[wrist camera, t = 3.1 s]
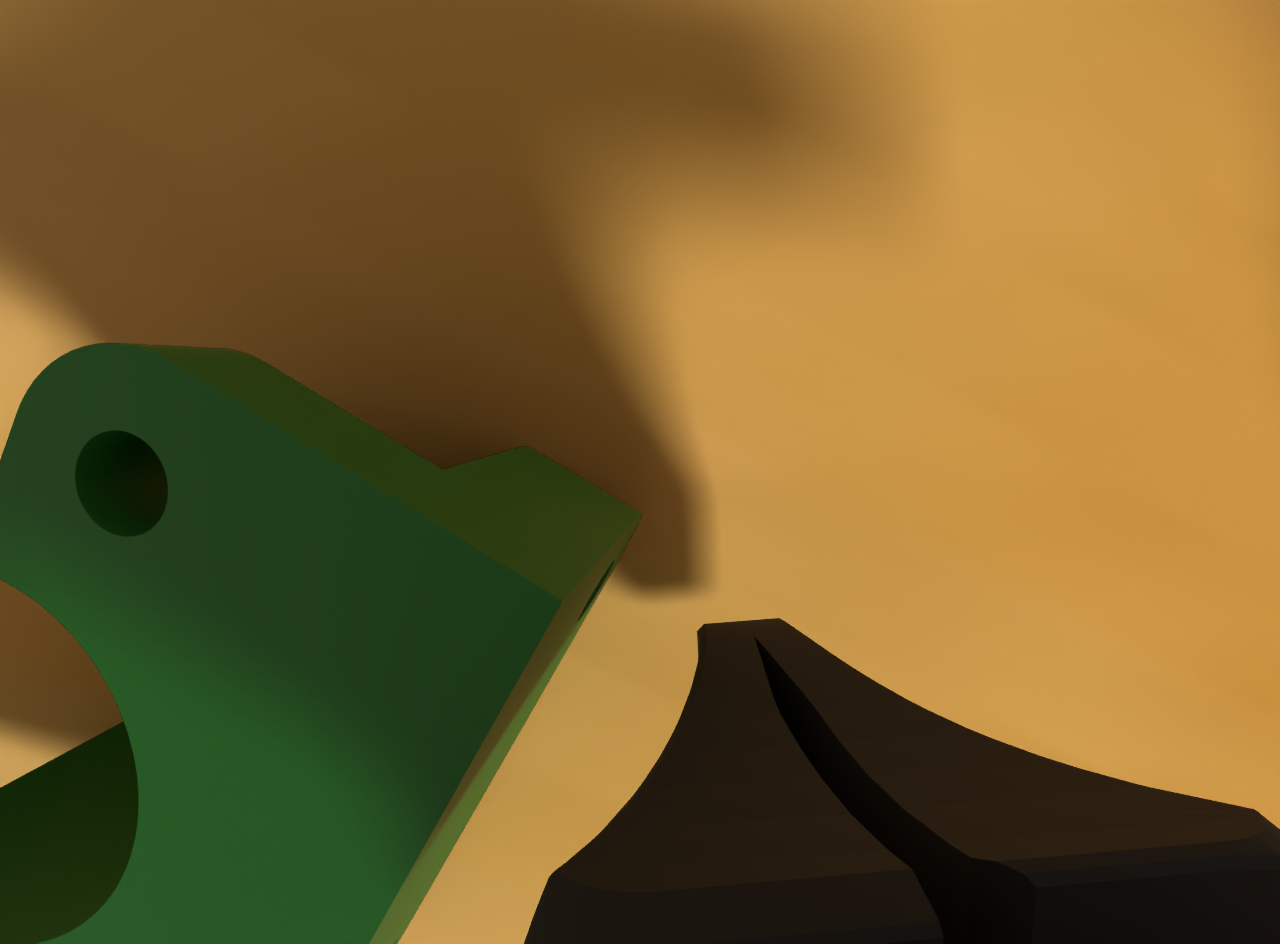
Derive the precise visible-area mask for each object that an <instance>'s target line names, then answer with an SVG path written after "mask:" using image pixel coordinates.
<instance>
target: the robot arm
mask: <svg viewBox="0 0 1280 944" xmlns="http://www.w3.org/2000/svg"><path fill="white" fill-rule="evenodd" d="M697 637H698V664H697V668H696V672H695V676H694V680H693V684H692V687H691V690H690V693H689V696H688V698H687V701H686V703H685V706H684V709H683V711H682V714H681V716H680V719H679V721H678V723H677V725H676V727H675V730H674V732H673V734H672V736H671V738H670V739H669V741H668V743H667V745H666V747H665V748H664V750H663V752H662V754H661V756H660V757H659V759H658V760H657V762H656V763H655V765H654V766H653V768H652V769H651V771H650V772H649V774H648V776H647V777H646V779H645V780H644V781H643V783H642V784H641V786H640V787H639V788H638V790H637V791H636V792H635V794H634V795H633V796H632V797H631V799H630V800H629V801H628V802H627V803H626V804H625V805H624V806H623V808H622V809H621V810H620V811H619V812H618V813H617V814H616V816H615V817H614V818H613V819H612V820H611V821H610V822H609V824H608V825H607V826H606V827H605V828H604V829H603V830H602V831H601V832H600V833H599V834H598V835H597V836H596V837H595V838H594V839H593V840H592V841H591V842H589V843H588V844H587V845H586V846H585V847H584V848H582V849H581V850H580V851H579V852H578V853H577V854H575V855H574V856H573V857H572V858H571V859H569V860H568V861H567V862H566V863H565V864H563V865H562V866H561V867H559V868H558V869H557V870H555V871H554V872H553V873H552V874H551V875H550V877H549V879H548V881H547V884H546V886H545V888H544V891H543V893H542V896H541V898H540V901H539V904H538V906H537V909H536V911H535V914H534V916H533V919H532V922H531V925H530V928H529V931H528V934H527V936H526V939H525V942H524V944H1280V829H1278V828H1277V827H1276V826H1275V825H1274V824H1272V823H1271V822H1270V821H1269V820H1267V819H1266V818H1265V817H1264V816H1262V815H1261V814H1260V813H1259V812H1257V811H1256V810H1254V809H1250V808H1245V807H1241V806H1236V805H1231V804H1226V803H1222V802H1217V801H1212V800H1207V799H1203V798H1198V797H1193V796H1188V795H1184V794H1179V793H1174V792H1169V791H1165V790H1160V789H1155V788H1151V787H1146V786H1142V785H1138V784H1134V783H1130V782H1127V781H1123V780H1119V779H1116V778H1112V777H1109V776H1105V775H1101V774H1098V773H1094V772H1091V771H1087V770H1083V769H1080V768H1076V767H1073V766H1070V765H1067V764H1064V763H1060V762H1057V761H1054V760H1051V759H1048V758H1045V757H1042V756H1039V755H1036V754H1033V753H1030V752H1028V751H1025V750H1022V749H1019V748H1017V747H1014V746H1011V745H1008V744H1006V743H1003V742H1000V741H997V740H995V739H992V738H990V737H987V736H985V735H982V734H980V733H977V732H975V731H972V730H970V729H968V728H965V727H963V726H961V725H959V724H957V723H955V722H952V721H950V720H948V719H946V718H944V717H942V716H939V715H937V714H935V713H933V712H931V711H929V710H926V709H924V708H922V707H921V706H919V705H917V704H915V703H913V702H911V701H909V700H907V699H905V698H903V697H902V696H900V695H898V694H896V693H895V692H893V691H891V690H889V689H887V688H886V687H884V686H882V685H880V684H879V683H877V682H875V681H874V680H872V679H870V678H869V677H867V676H865V675H864V674H862V673H860V672H859V671H857V670H856V669H854V668H853V667H851V666H849V665H848V664H846V663H845V662H843V661H842V660H840V659H839V658H837V657H836V656H834V655H833V654H831V653H830V652H828V651H827V650H825V649H824V648H823V647H821V646H820V645H818V644H817V643H815V642H814V641H813V640H811V639H810V638H808V637H807V636H805V635H804V634H803V633H801V632H800V631H798V630H797V629H795V628H794V627H792V626H791V625H789V624H788V623H786V622H785V621H783V620H781V619H780V618H775V619H763V620H750V621H737V622H724V623H712V624H704V625H703V626H702V627H701V628H700V629H699V630H698V631H697Z"/></svg>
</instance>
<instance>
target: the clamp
mask: <svg viewBox="0 0 1280 944" xmlns="http://www.w3.org/2000/svg"><path fill="white" fill-rule="evenodd" d="M641 516H642V513H640V512H638V511H637V510H635V509H633V508H632V507H630V506H628V505H627V504H625V503H623V502H622V501H620V500H618V499H616V498H615V497H613V496H611V495H610V494H608V493H606V492H605V491H603V490H601V489H600V488H598V487H596V486H595V485H593V484H591V483H590V482H588V481H586V480H584V479H583V478H581V477H579V476H578V475H576V474H574V473H573V472H571V471H569V470H568V469H566V468H564V467H563V466H561V465H559V464H558V463H556V462H554V461H553V460H551V459H549V458H547V457H546V456H544V455H542V454H541V453H539V452H537V451H536V450H534V449H532V448H531V447H529V446H523V447H519V448H516V449H513V450H509V451H506V452H502V453H499V454H495V455H492V456H488V457H485V458H482V459H478V460H475V461H471V462H468V463H464V464H461V465H457V466H454V467H451V468H447V469H444V470H443V469H441V468H439V467H438V466H436V465H434V464H433V463H431V462H429V461H428V460H426V459H424V458H423V457H421V456H419V455H418V454H416V453H414V452H413V451H411V450H409V449H408V448H406V447H405V446H403V445H401V444H400V443H398V442H396V441H395V440H393V439H391V438H390V437H388V436H386V435H385V434H383V433H381V432H380V431H378V430H376V429H375V428H373V427H371V426H370V425H368V424H366V423H365V422H363V421H362V420H360V419H358V418H357V417H355V416H353V415H352V414H350V413H348V412H347V411H345V410H343V409H342V408H340V407H338V406H337V405H335V404H333V403H332V402H330V401H328V400H327V399H325V398H324V397H322V396H320V395H319V394H317V393H315V392H314V391H312V390H310V389H309V388H307V387H305V386H304V385H302V384H300V383H299V382H297V381H295V380H294V379H292V378H290V377H289V376H287V375H285V374H284V373H282V372H281V371H279V370H277V369H276V368H274V367H272V366H271V365H269V364H267V363H266V362H264V361H262V360H260V359H258V358H256V357H254V356H251V355H249V354H246V353H243V352H239V351H236V350H230V349H222V348H203V347H184V346H164V345H145V344H126V343H99V344H92V345H88V346H83V347H80V348H78V349H75V350H72V351H70V352H68V353H66V354H64V355H62V356H61V357H59V358H58V359H56V360H55V361H53V362H52V363H51V364H50V365H49V366H47V367H46V368H45V369H44V370H43V371H42V372H41V373H40V374H39V375H38V377H37V378H36V379H35V380H34V381H33V383H32V384H31V386H30V387H29V389H28V390H27V392H26V394H25V396H24V398H23V399H22V401H21V404H20V406H19V409H18V411H17V414H16V417H15V420H14V422H13V425H12V428H11V431H10V434H9V437H8V440H7V442H6V445H5V448H4V451H3V454H2V457H1V460H0V579H1V580H3V581H4V582H6V583H8V584H10V585H11V586H13V587H15V588H17V589H19V590H20V591H22V592H23V593H24V594H26V595H27V596H29V597H30V598H32V599H33V600H35V601H36V602H37V603H39V604H40V605H41V606H42V607H43V608H45V609H46V610H47V611H48V612H49V613H50V614H52V615H53V616H54V617H55V618H56V619H57V620H58V621H59V622H60V623H61V624H62V625H63V626H64V627H65V628H66V629H67V630H68V631H69V632H70V633H71V634H72V635H73V637H74V638H75V639H76V640H77V641H78V643H79V644H80V645H81V646H82V648H83V649H84V650H85V651H86V653H87V654H88V655H89V657H90V658H91V660H92V661H93V663H94V664H95V666H96V667H97V668H98V670H99V672H100V673H101V675H102V677H103V679H104V680H105V682H106V684H107V686H108V687H109V689H110V691H111V693H112V695H113V697H114V699H115V702H116V704H117V706H118V708H119V710H120V713H121V715H122V718H123V721H124V722H122V723H120V724H118V725H116V726H114V727H112V728H111V729H109V730H107V731H105V732H103V733H101V734H99V735H98V736H96V737H94V738H92V739H90V740H88V741H86V742H85V743H83V744H81V745H79V746H77V747H75V748H73V749H72V750H70V751H68V752H66V753H64V754H62V755H60V756H59V757H57V758H55V759H53V760H51V761H49V762H47V763H46V764H44V765H42V766H40V767H38V768H36V769H34V770H33V771H31V772H29V773H27V774H25V775H23V776H21V777H20V778H18V779H16V780H14V781H12V782H10V783H8V784H7V785H5V786H3V787H1V788H0V944H397V943H398V942H399V940H400V938H401V937H402V935H403V933H404V932H405V930H406V928H407V927H408V925H409V923H410V922H411V920H412V918H413V916H414V915H415V913H416V911H417V910H418V908H419V906H420V904H421V903H422V901H423V899H424V897H425V896H426V894H427V892H428V890H429V889H430V887H431V885H432V883H433V882H434V880H435V878H436V877H437V875H438V873H439V871H440V870H441V868H442V866H443V864H444V863H445V861H446V859H447V857H448V856H449V854H450V852H451V850H452V849H453V847H454V845H455V844H456V842H457V840H458V838H459V837H460V835H461V833H462V831H463V830H464V828H465V826H466V824H467V823H468V821H469V819H470V817H471V816H472V814H473V812H474V811H475V809H476V807H477V805H478V804H479V802H480V800H481V798H482V797H483V795H484V793H485V791H486V790H487V788H488V786H489V785H490V783H491V781H492V779H493V778H494V776H495V774H496V772H497V771H498V769H499V767H500V765H501V764H502V762H503V760H504V758H505V757H506V755H507V753H508V752H509V750H510V748H511V746H512V745H513V743H514V741H515V739H516V738H517V736H518V734H519V732H520V731H521V729H522V727H523V725H524V724H525V722H526V720H527V719H528V717H529V715H530V713H531V712H532V710H533V708H534V706H535V705H536V703H537V701H538V699H539V698H540V696H541V694H542V692H543V691H544V689H545V687H546V686H547V684H548V682H549V680H550V679H551V677H552V675H553V673H554V672H555V670H556V668H557V666H558V665H559V663H560V661H561V659H562V658H563V656H564V654H565V653H566V651H567V649H568V647H569V646H570V644H571V642H572V640H573V639H574V637H575V635H576V633H577V632H578V630H579V628H580V626H581V625H582V623H583V621H584V620H585V618H586V616H587V614H588V613H589V611H590V609H591V607H592V606H593V604H594V602H595V600H596V599H597V597H598V595H599V593H600V592H601V590H602V588H603V587H604V585H605V583H606V581H607V580H608V578H609V576H610V574H611V573H612V571H613V569H614V567H615V566H616V564H617V562H618V560H619V559H620V557H621V555H622V553H623V552H624V550H625V548H626V546H627V544H628V543H629V541H630V539H631V537H632V535H633V533H634V531H635V529H636V527H637V525H638V523H639V521H640V519H641Z"/></svg>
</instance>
